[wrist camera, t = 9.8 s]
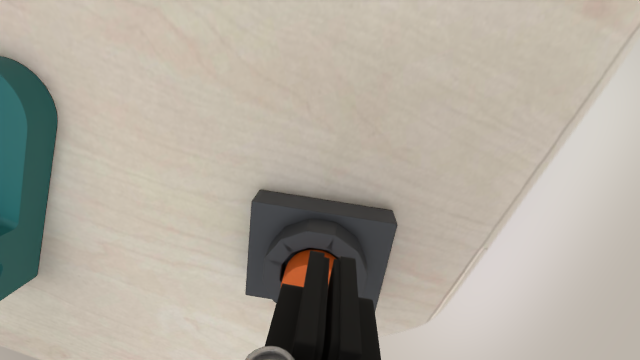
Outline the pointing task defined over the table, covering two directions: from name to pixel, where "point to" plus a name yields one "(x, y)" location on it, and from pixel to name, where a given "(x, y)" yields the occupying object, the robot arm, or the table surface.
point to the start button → (301, 268)
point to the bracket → (23, 171)
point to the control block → (316, 239)
